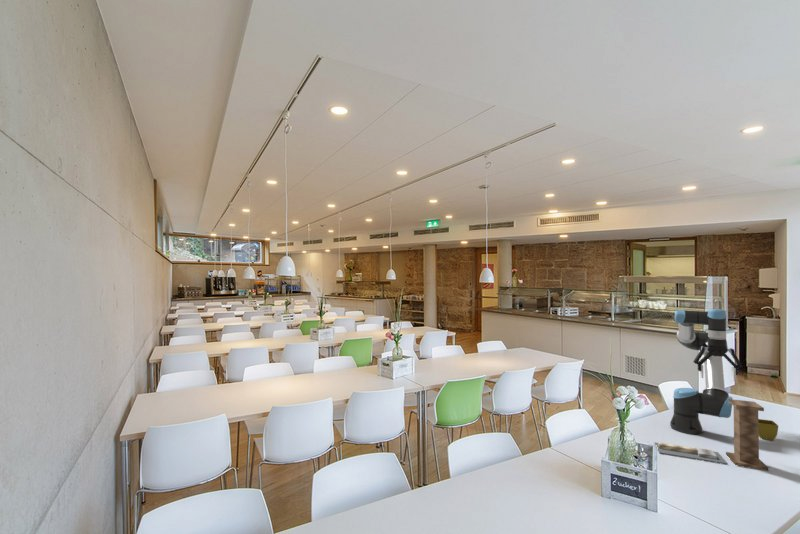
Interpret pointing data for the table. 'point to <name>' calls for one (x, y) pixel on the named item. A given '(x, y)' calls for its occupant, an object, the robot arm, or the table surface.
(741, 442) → the pedestal
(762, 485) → the table surface
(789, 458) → the table surface
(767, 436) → the flower pot
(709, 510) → the table surface
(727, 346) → the robot arm
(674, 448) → the bar
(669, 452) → the mat
